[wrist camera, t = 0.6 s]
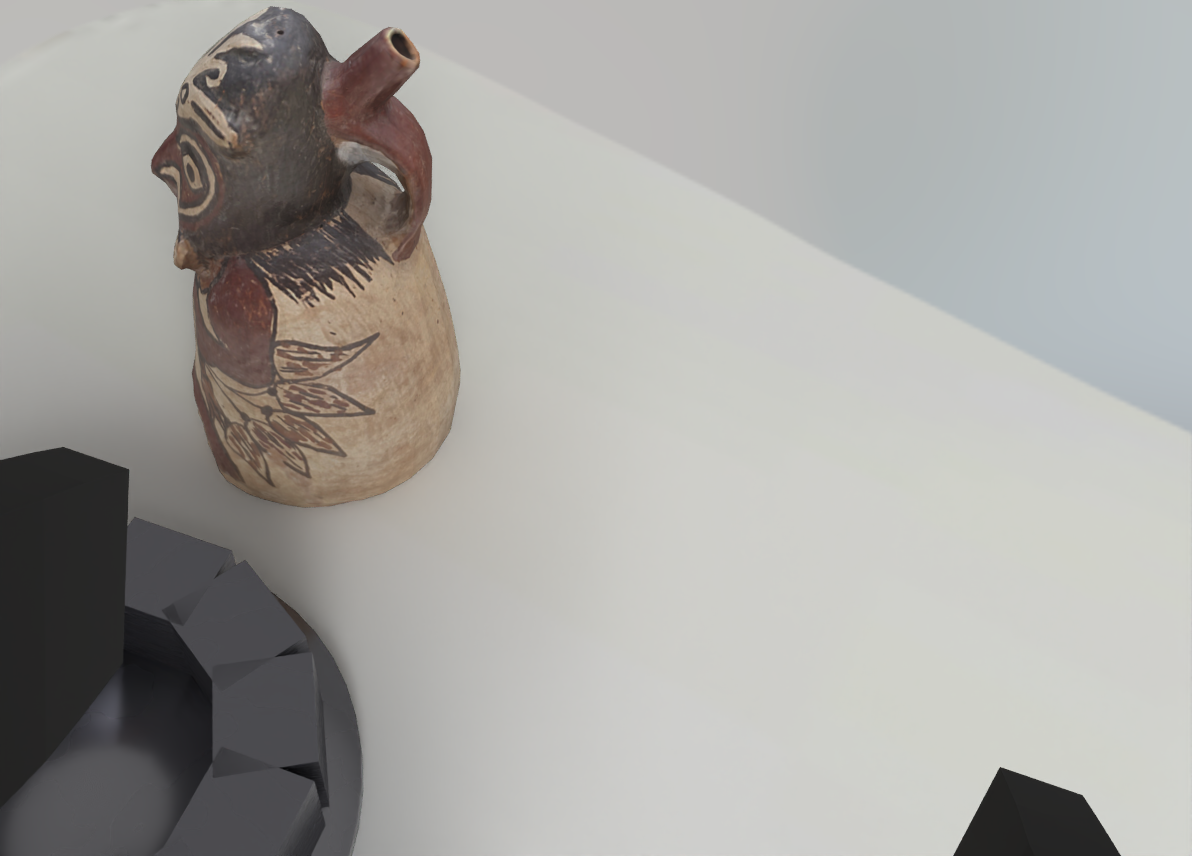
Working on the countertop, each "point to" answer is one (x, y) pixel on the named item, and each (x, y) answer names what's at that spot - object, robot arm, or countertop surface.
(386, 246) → the figurine
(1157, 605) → the countertop surface
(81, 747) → the toothed ring bowl
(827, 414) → the countertop surface
